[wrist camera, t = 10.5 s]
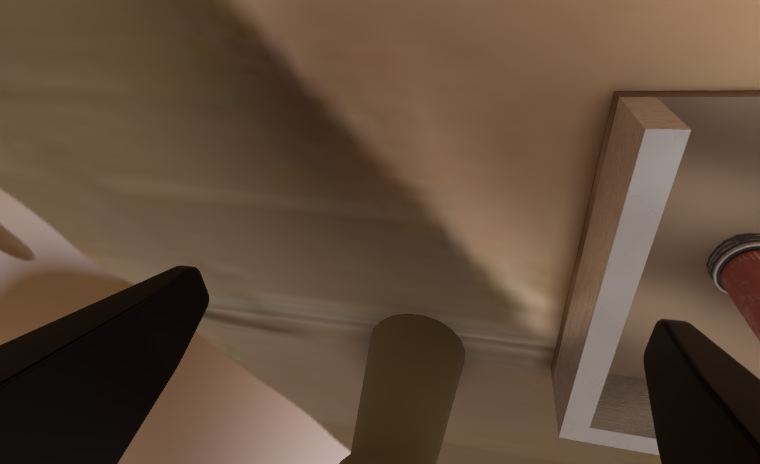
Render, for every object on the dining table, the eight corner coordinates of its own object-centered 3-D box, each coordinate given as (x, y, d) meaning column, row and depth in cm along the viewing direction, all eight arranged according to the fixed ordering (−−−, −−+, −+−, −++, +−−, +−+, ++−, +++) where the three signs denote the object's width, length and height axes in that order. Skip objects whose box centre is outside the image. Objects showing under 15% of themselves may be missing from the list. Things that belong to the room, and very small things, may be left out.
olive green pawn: (457, 313, 24) (430, 524, 15) (470, 383, 27) (454, 593, 18) (360, 314, 26) (285, 500, 17) (382, 379, 29) (329, 567, 20)
